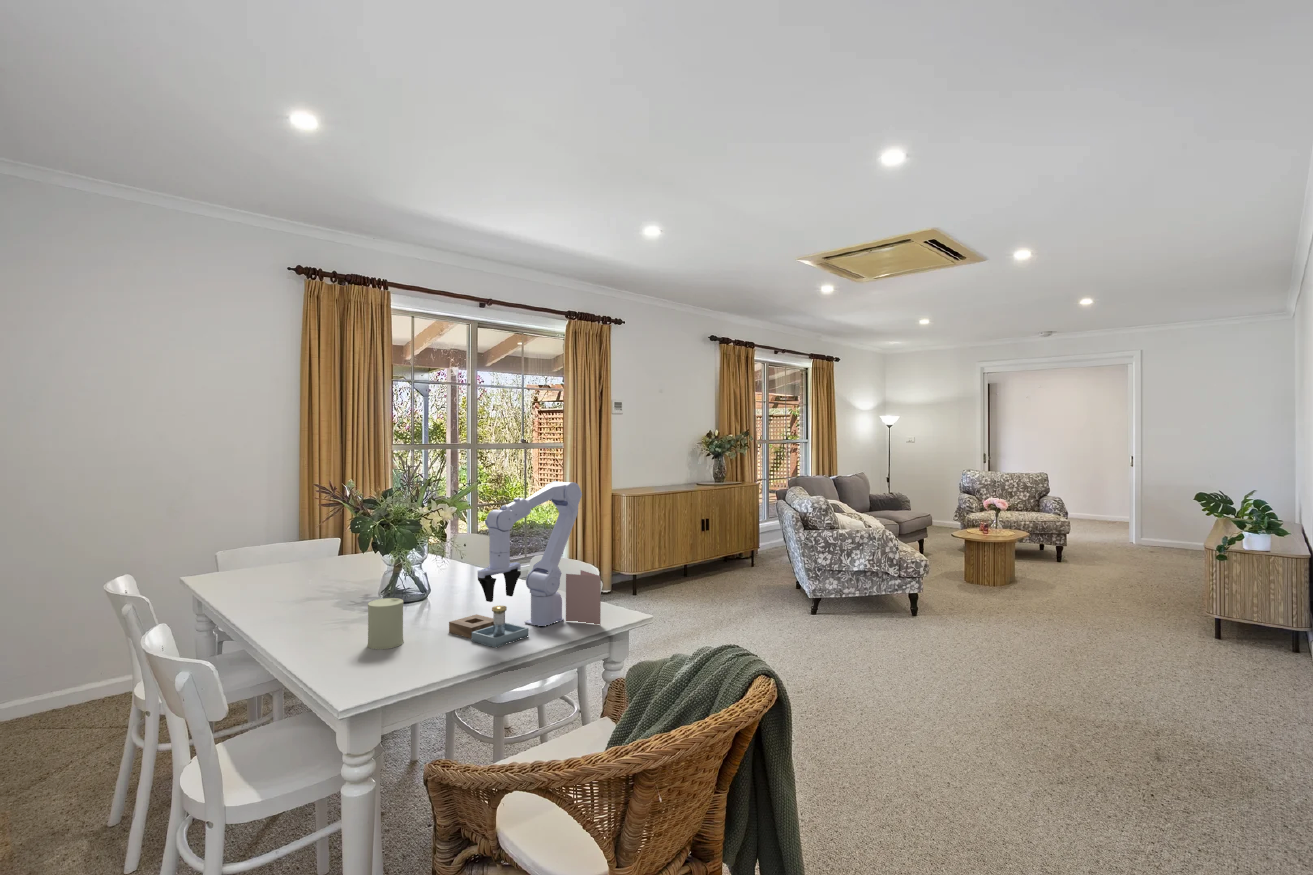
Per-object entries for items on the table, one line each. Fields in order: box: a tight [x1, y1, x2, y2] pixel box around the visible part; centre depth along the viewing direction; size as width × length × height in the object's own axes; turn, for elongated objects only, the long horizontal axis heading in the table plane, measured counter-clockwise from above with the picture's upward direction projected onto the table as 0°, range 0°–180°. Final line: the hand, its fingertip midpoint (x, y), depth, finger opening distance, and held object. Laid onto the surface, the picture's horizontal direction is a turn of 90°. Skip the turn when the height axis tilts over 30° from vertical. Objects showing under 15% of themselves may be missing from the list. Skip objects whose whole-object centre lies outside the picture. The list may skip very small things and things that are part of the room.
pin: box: [491, 605, 508, 637], centre depth 184 cm, size 4×4×8 cm
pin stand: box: [448, 613, 493, 639], centre depth 191 cm, size 10×10×3 cm
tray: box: [471, 621, 530, 648], centre depth 184 cm, size 12×10×2 cm
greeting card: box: [565, 569, 602, 625], centre depth 200 cm, size 11×7×15 cm, turn 38°
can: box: [367, 597, 405, 650], centre depth 179 cm, size 9×9×12 cm
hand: (499, 598), depth 188 cm, fingers open, 7 cm apart
